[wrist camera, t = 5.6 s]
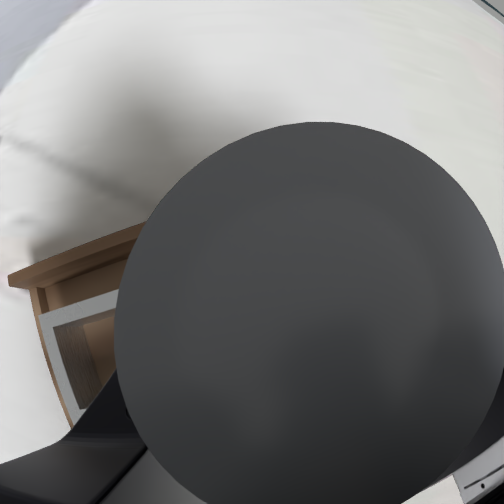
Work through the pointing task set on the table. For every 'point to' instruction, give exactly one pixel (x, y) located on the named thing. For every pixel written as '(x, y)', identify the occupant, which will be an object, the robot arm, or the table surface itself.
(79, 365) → the frame
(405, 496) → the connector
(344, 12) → the table surface
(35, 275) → the box
